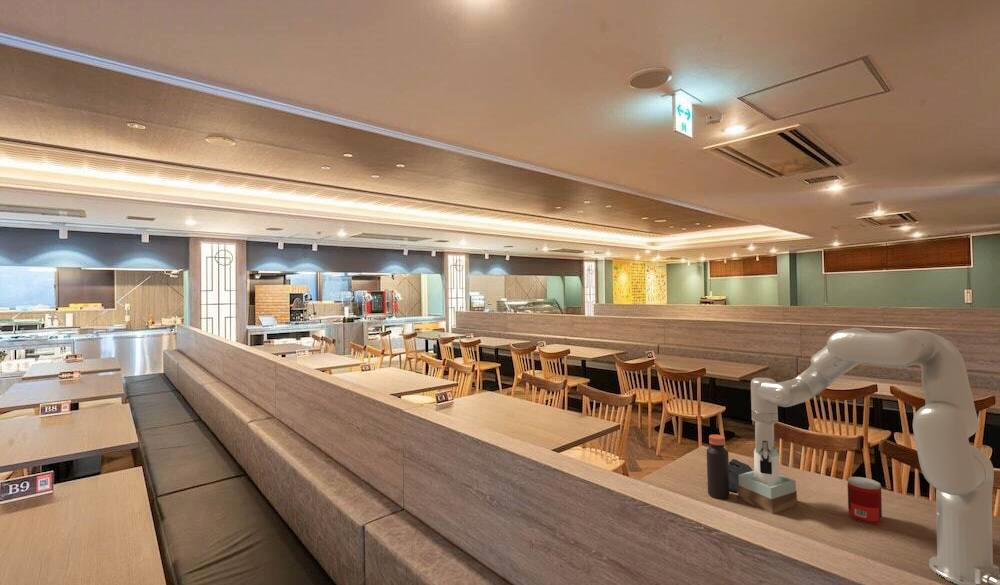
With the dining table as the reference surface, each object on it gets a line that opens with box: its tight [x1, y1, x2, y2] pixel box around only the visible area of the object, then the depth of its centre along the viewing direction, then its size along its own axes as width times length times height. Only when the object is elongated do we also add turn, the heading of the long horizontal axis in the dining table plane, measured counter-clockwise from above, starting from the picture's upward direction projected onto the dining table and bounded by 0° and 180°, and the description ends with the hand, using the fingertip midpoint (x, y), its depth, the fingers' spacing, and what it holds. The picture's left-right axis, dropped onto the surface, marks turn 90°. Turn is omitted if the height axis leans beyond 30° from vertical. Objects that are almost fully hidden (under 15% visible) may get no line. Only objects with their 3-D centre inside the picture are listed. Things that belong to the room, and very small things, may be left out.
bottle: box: [706, 434, 731, 500], centre depth 158 cm, size 7×7×20 cm
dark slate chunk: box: [729, 458, 754, 494], centre depth 169 cm, size 15×22×5 cm
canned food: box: [847, 476, 883, 525], centre depth 139 cm, size 8×8×11 cm
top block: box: [738, 470, 797, 499], centre depth 151 cm, size 12×12×4 cm
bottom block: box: [737, 484, 798, 515], centre depth 152 cm, size 12×12×5 cm
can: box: [753, 445, 780, 486], centre depth 151 cm, size 7×7×12 cm
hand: (766, 467), depth 152 cm, fingers open, 9 cm apart
